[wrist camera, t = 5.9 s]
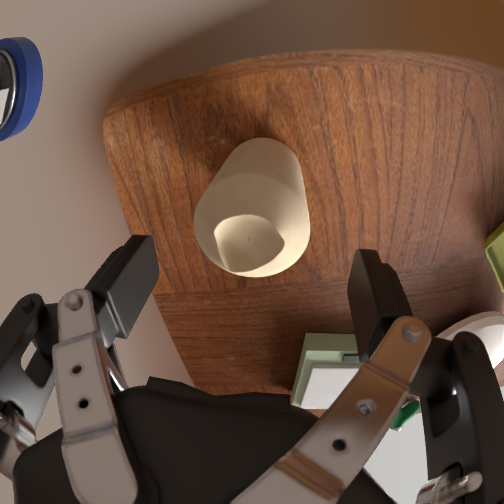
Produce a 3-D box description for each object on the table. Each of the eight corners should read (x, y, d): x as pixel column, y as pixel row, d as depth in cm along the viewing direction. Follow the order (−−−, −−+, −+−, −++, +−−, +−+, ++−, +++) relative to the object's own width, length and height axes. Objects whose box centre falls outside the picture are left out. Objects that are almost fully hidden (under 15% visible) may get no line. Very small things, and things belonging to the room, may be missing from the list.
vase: (465, 281, 24) (493, 330, 18) (519, 314, 26) (540, 352, 20) (380, 369, 33) (388, 417, 27) (448, 382, 35) (459, 419, 29)
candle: (269, 220, 23) (259, 313, 15) (211, 179, 21) (164, 254, 13) (316, 168, 20) (339, 240, 12) (255, 121, 19) (230, 158, 10)
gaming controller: (376, 386, 38) (359, 421, 37) (392, 393, 34) (374, 430, 33) (408, 397, 40) (393, 427, 39) (424, 402, 36) (408, 435, 35)
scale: (291, 392, 37) (291, 410, 34) (305, 332, 30) (306, 355, 27) (373, 391, 36) (376, 409, 33) (408, 333, 29) (414, 353, 26)
